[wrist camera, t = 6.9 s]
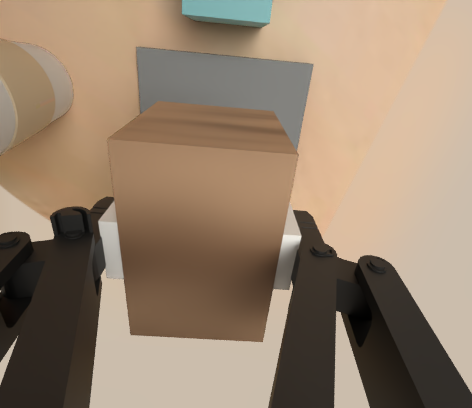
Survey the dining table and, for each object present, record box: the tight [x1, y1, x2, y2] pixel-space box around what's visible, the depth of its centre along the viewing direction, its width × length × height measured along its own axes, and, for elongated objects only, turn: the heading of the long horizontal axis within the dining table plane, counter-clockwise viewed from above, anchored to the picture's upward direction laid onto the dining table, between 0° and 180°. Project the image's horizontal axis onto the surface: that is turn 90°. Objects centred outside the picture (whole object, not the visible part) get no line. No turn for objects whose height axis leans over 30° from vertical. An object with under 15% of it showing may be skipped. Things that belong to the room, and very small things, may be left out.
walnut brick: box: [107, 101, 298, 342], centre depth 15 cm, size 9×6×7 cm, turn 175°
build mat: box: [136, 47, 313, 151], centre depth 30 cm, size 13×16×1 cm
